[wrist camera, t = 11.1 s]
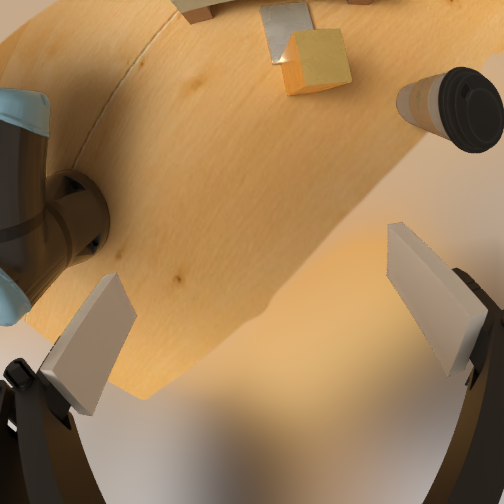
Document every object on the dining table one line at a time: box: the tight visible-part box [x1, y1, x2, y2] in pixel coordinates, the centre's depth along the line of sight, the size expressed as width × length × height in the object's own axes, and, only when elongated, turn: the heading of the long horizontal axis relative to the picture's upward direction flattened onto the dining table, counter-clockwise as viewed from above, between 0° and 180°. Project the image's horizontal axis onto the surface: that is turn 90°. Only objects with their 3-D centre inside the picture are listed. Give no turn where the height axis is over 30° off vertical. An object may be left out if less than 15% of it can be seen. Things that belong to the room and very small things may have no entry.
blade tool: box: [259, 2, 352, 96], centre depth 23 cm, size 6×13×14 cm, turn 12°
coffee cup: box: [396, 67, 504, 153], centre depth 25 cm, size 9×9×15 cm
